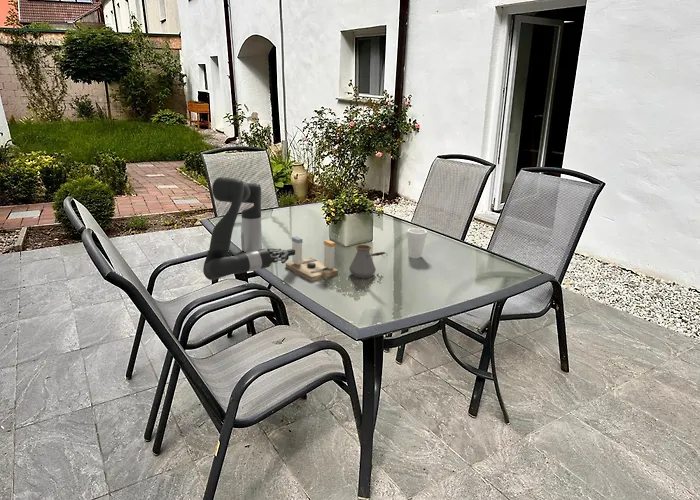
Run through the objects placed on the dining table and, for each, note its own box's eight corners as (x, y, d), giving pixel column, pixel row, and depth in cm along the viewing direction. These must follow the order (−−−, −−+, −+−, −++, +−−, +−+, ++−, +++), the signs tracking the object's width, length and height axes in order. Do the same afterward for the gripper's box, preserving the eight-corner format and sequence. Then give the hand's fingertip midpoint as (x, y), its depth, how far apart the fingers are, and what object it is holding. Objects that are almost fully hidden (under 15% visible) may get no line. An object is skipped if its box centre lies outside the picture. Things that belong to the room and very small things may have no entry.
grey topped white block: (297, 265, 204) (297, 239, 200) (291, 262, 207) (291, 237, 203) (302, 264, 205) (302, 239, 201) (296, 261, 209) (296, 236, 205)
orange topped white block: (330, 269, 200) (330, 243, 197) (323, 266, 204) (324, 240, 200) (334, 268, 202) (335, 242, 198) (327, 265, 205) (328, 239, 202)
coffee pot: (344, 273, 204) (345, 240, 199) (365, 268, 210) (367, 237, 205) (371, 290, 187) (373, 254, 182) (394, 285, 193) (396, 250, 188)
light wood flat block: (311, 281, 193) (311, 274, 192) (285, 267, 208) (285, 260, 207) (337, 274, 202) (338, 267, 201) (311, 261, 216) (311, 255, 215)
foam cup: (426, 255, 231) (429, 230, 227) (421, 260, 223) (423, 234, 219) (408, 252, 235) (410, 227, 231) (402, 257, 227) (404, 231, 223)
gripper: (264, 255, 172) (303, 247, 183) (247, 246, 181) (285, 238, 192) (265, 274, 174) (303, 265, 185) (248, 264, 184) (285, 255, 195)
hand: (294, 251), depth 189 cm, fingers closed
